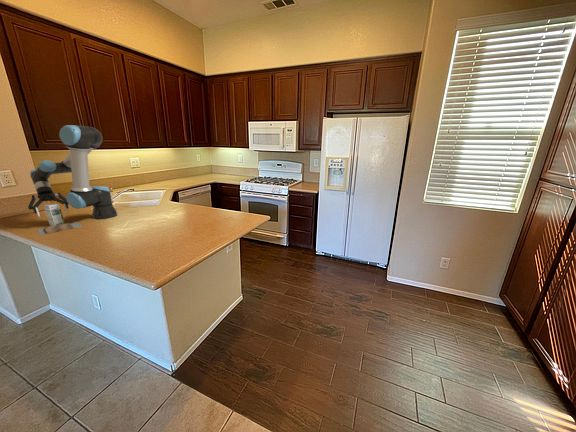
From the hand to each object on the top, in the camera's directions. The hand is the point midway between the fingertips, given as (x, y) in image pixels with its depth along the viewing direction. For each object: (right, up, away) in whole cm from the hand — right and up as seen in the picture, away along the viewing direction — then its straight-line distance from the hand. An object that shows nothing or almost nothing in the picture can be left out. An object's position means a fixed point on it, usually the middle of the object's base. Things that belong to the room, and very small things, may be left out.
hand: (53, 214), depth 157 cm
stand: (+8, -9, -5) cm, 14 cm away
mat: (+8, -9, -3) cm, 13 cm away
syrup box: (0, -7, +3) cm, 8 cm away
